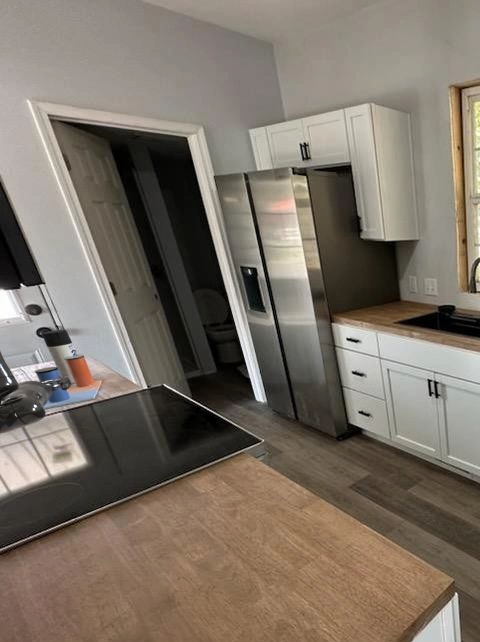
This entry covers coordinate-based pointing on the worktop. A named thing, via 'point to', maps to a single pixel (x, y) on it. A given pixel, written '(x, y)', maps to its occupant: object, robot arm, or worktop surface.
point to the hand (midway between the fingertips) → (41, 382)
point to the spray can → (60, 350)
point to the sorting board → (77, 395)
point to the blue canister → (52, 374)
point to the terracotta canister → (79, 370)
